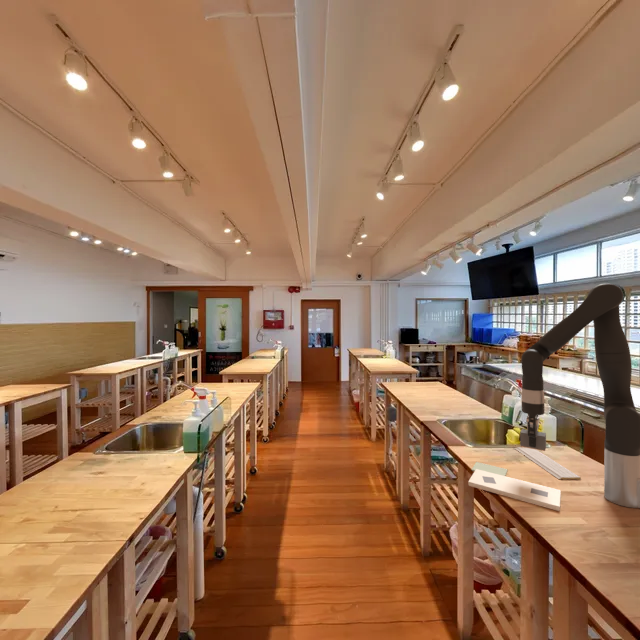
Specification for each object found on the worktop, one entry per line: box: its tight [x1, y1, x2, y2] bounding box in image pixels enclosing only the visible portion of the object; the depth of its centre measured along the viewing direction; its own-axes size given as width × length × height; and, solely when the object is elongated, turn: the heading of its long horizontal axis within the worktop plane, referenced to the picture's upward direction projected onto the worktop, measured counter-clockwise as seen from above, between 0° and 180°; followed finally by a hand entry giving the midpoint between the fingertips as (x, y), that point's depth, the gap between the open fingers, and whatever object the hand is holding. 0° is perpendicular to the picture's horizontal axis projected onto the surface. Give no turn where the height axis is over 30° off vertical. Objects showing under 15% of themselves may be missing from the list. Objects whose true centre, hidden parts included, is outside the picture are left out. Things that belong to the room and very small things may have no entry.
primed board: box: [467, 469, 562, 512], centre depth 123 cm, size 28×13×2 cm, turn 53°
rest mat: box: [471, 461, 508, 477], centre depth 138 cm, size 12×9×1 cm
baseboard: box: [512, 444, 582, 481], centre depth 145 cm, size 30×3×10 cm
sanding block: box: [519, 428, 547, 452], centre depth 130 cm, size 8×5×6 cm, turn 52°
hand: (533, 444), depth 130 cm, fingers closed on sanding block, 5 cm apart
